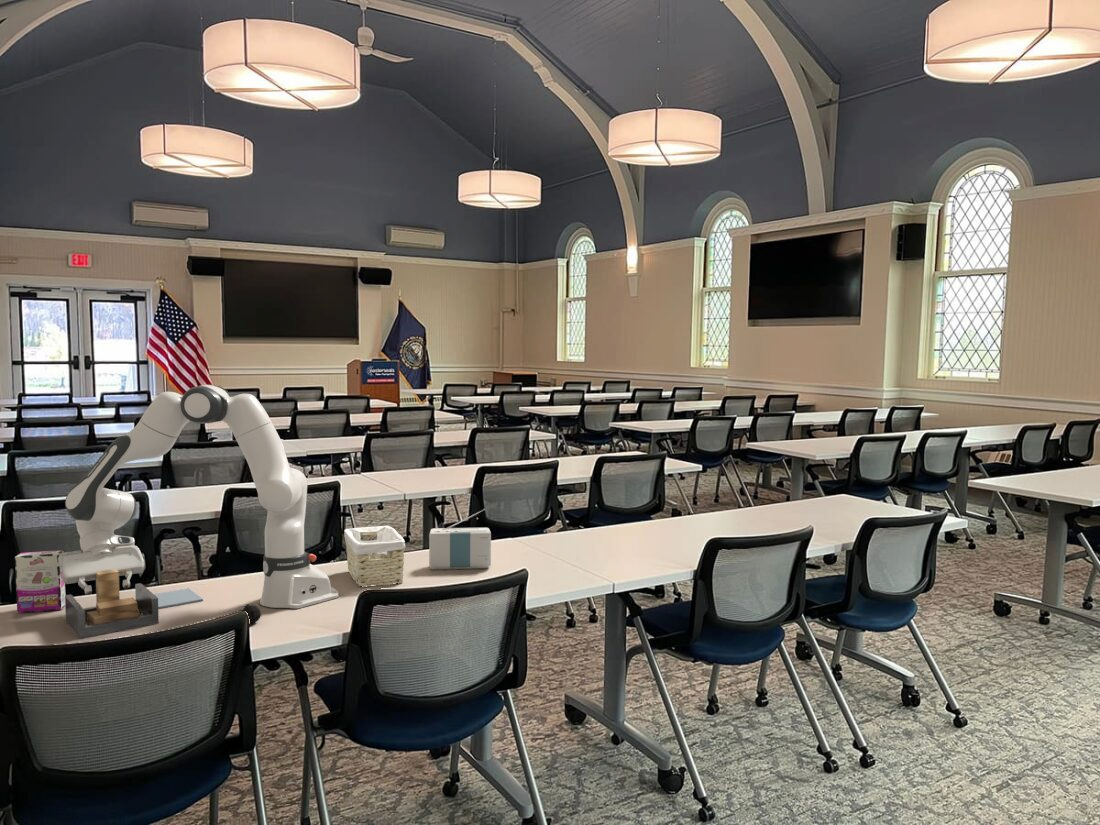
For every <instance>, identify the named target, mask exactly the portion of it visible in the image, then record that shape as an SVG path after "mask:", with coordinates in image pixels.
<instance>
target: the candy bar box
mask: <svg viewBox="0 0 1100 825" xmlns="http://www.w3.org/2000/svg"><path fill="white" fill-rule="evenodd" d="M63 553H65V552H64V549H63V550H62V549H61V550H46V551H32V552H31V551H30V552H20V553H18V554H17V555H16V556H14V569H15V570H14V571H15V588H16V592H15V593H16V609H17V610H16V611H17V614H27V613H28V614H29V613H39V612H40V613H41V612H53V611H61V610H63V609H65V595H66V584H65V583H64V582H63V581H62V567H61V566H60V565H59V562H58V557H59V556H60V555H62V554H63Z"/></svg>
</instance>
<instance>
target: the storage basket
mask: <svg viewBox="0 0 1100 825" xmlns="http://www.w3.org/2000/svg"><path fill="white" fill-rule="evenodd" d="M343 535H344V536H343V537H344V541H345V547H346V556H347V557H346V560H347V563H346V564H347V569H348V572H349V574H350V576H351V578H352V579H353V580H354V582H355V584H357V586H358V587H359V586H363V587H362V588H367V587H366V586H371V585H383V586H390V585H389V584H391V585H393V583H398V584H402V583H403V580H404V565H405V561H404V560H405V559H404V558H405V554H404V553H405V549H406V543H405V542H406V541H405V539H404V538H403V536H402V535H401V534H400V533H398V531H396V529H395V528H393V527H392V526H389V525H381V526H380V525H379V526H378V525H377V526H366V527H365V526H363V527H355V528H345V529H344V534H343ZM374 535H377V538H376V539H373V540H362V539H361V538H362V536H374Z"/></svg>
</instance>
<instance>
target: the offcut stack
mask: <svg viewBox="0 0 1100 825" xmlns="http://www.w3.org/2000/svg"><path fill="white" fill-rule="evenodd" d="M95 606H96V610H97V611H92V612H87V618H86V620H87V622H86V623H87V625H86V626H89V625H94V624H100V623H105V622H111V621H116V620H121V619H127V618H132V617H138V616H143V615H142V614H141V613H140V612H139V609H138V605H137V602H136V598H134V597H129V598H122V599H121V598H120V600H114V601H107V602H101V603H97V602H96V605H95Z"/></svg>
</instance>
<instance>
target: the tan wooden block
mask: <svg viewBox="0 0 1100 825" xmlns="http://www.w3.org/2000/svg"><path fill="white" fill-rule="evenodd" d="M95 595H96V598H95V599H96V603H101V602H107V601H114V600H120V599H121V598H120V576H119V571H117V570H116V569H112V570H106V571H99V572H96V580H95Z"/></svg>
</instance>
